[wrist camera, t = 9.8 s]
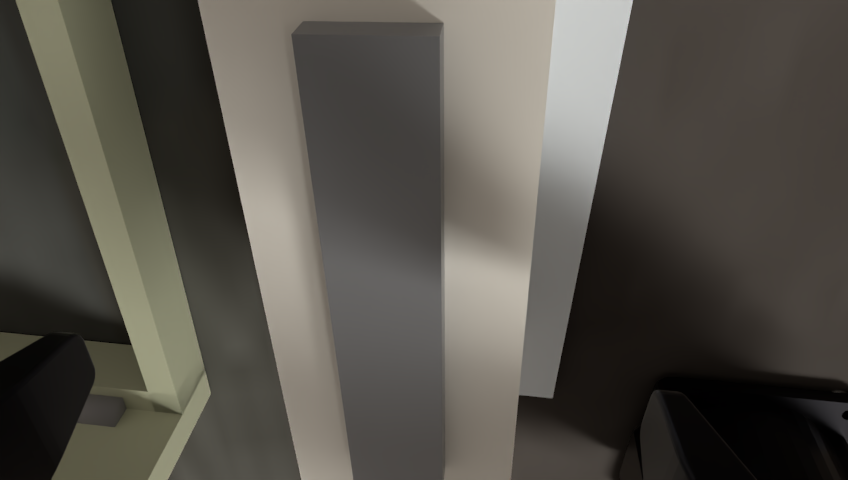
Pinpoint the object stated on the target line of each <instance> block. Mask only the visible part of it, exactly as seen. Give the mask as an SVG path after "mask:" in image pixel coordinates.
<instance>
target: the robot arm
mask: <svg viewBox="0 0 848 480" xmlns="http://www.w3.org/2000/svg"><path fill="white" fill-rule="evenodd" d="M94 381H95V367H94V364H93V362H92V359H91V357H90V354H89V352H88V349H87V347H86V344H85V341H84V339H83V338H82V337H81V336H80V335H79V334H77V333H69V332H58V331H57V332H52V333H49V334H47V335H45V336H44V337H42V338H40V339H38V340H37V341H35V342H33V343H31V344H30V345H28V346H26V347H24V348H23V349H21V350H19V351H17V352H16V353H14V354H12V355H10V356H9V357H7V358H5V359H3V360H2V361H0V480H51V479H52V477H53V475H54V473H55V472H56V470H57V468H58V465H59V463H60V461H61V459H62V457H63V455H64V452H65V450H66V448H67V445H68V443H69V441H70V438H71V436H72V434H73V431H74V429H75V426H76V424H77V422H78V419H79V417H80V415H81V412H82V410H83V408H84V405H85V403H86V401H87V398H88V396H89V394H90V391H91V389H92V387H93V384H94ZM619 475H620V480H848V394H843V393H833V392H822V391H812V390H802V389H792V388H781V387H771V386H761V385H750V384H740V383H730V382H719V381H709V380H699V379H689V378H678V377H667V378H664V379H661V380H660V381H658V382H657V383H656V385H655V387H654V390H653V393H652V395H651V397H650V400H649V403H648V406H647V409H646V412H645V415H644V418H643V421H642V424H641V426H638V427H637V428H636V429H634V430H633V432H632V435H631V438H630V441H629V444H628V447H627V450H626V453H625V456H624V460H623V463H622V466H621V469H620V472H619Z"/></svg>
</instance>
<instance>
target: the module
mask: <svg viewBox="0 0 848 480" xmlns="http://www.w3.org/2000/svg"><path fill="white" fill-rule="evenodd" d="M198 4H199V9H200V14H201V18H202V23H203V27H204V32H205V37H206V41H207V46H208V50H209V55H210V60H211V64H212V69H213V74H214V78H215V83H216V87H217V92H218V97H219V101H220V106H221V110H222V115H223V120H224V124H225V129H226V134H227V138H228V143H229V147H230V152H231V157H232V161H233V166H234V170H235V175H236V180H237V184H238V189H239V194H240V198H241V203H242V207H243V212H244V217H245V221H246V226H247V231H248V235H249V240H250V244H251V249H252V254H253V258H254V263H255V267H256V272H257V277H258V281H259V286H260V291H261V295H262V300H263V304H264V309H265V314H266V318H267V323H268V327H269V332H270V337H271V341H272V346H273V351H274V355H275V360H276V364H277V369H278V374H279V378H280V383H281V387H282V392H283V397H284V401H285V406H286V411H287V415H288V420H289V424H290V429H291V434H292V438H293V443H294V448H295V452H296V457H297V461H298V466H299V471H300V475H301V480H511V472H512V462H513V451H514V441H515V430H516V419H517V409H518V398H519V388H520V377H521V366H522V356H523V345H524V334H525V324H526V313H527V303H528V292H529V281H530V271H531V260H532V249H533V239H534V228H535V218H536V207H537V196H538V186H539V175H540V165H541V154H542V143H543V133H544V122H545V111H546V101H547V90H548V80H549V69H550V58H551V48H552V37H553V27H554V16H555V5H556V0H198Z"/></svg>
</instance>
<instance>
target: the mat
mask: <svg viewBox="0 0 848 480" xmlns="http://www.w3.org/2000/svg"><path fill="white" fill-rule="evenodd" d="M632 2H633V0H556V5H555V16H554V27H553V37H552V48H551V58H550V69H549V80H548V90H547V101H546V111H545V122H544V133H543V143H542V154H541V165H540V175H539V186H538V196H537V207H536V218H535V228H534V239H533V249H532V260H531V271H530V281H529V292H528V303H527V313H526V324H525V334H524V345H523V356H522V366H521V377H520V388H519V395H524V396H534V397H544V398H553V394H554V389H555V384H556V379H557V374H558V369H559V364H560V359H561V354H562V349H563V344H564V339H565V334H566V329H567V324H568V320H569V315H570V310H571V305H572V300H573V295H574V290H575V285H576V280H577V275H578V270H579V265H580V260H581V255H582V250H583V245H584V240H585V235H586V230H587V225H588V220H589V215H590V211H591V206H592V201H593V196H594V191H595V186H596V181H597V176H598V171H599V166H600V161H601V156H602V151H603V146H604V141H605V136H606V131H607V126H608V121H609V116H610V111H611V106H612V102H613V97H614V92H615V87H616V82H617V77H618V72H619V67H620V62H621V57H622V52H623V47H624V42H625V37H626V32H627V27H628V22H629V17H630V12H631V7H632Z"/></svg>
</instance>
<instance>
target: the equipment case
mask: <svg viewBox="0 0 848 480" xmlns="http://www.w3.org/2000/svg"><path fill="white" fill-rule="evenodd" d="M16 3H17V6H18V9H19V12H20V15H21V18H22V21H23V24H24V27H25V30H26V33H27V36H28V39H29V42H30V45H31V48H32V50H33V53H34V56H35V59H36V62H37V65H38V68H39V71H40V74H41V77H42V80H43V83H44V86H45V89H46V92H47V95H48V98H49V101H50V104H51V107H52V110H53V113H54V116H55V119H56V122H57V124H58V127H59V130H60V133H61V136H62V139H63V142H64V145H65V148H66V151H67V154H68V157H69V160H70V163H71V166H72V169H73V172H74V175H75V178H76V181H77V184H78V187H79V190H80V193H81V196H82V198H83V201H84V204H85V207H86V210H87V213H88V216H89V219H90V222H91V225H92V228H93V231H94V234H95V237H96V240H97V243H98V246H99V249H100V252H101V255H102V258H103V261H104V264H105V267H106V270H107V272H108V275H109V278H110V281H111V284H112V287H113V290H114V293H115V296H116V299H117V302H118V305H119V308H120V311H121V314H122V317H123V320H124V323H125V326H126V329H127V332H128V335H129V338H130V341H131V343H132V345H125V344H115V343H105V342H95V341H85V340H84V341H85V344H86V347H87V349H88V352H89V354H90V357H91V359H92V362H93V364H94V367H95V381H94V384H93V387H92V389H91V391H90V394H89V396H88V398H87V401H86V403H85V405H84V408H83V410H82V412H81V415H80V417H79V419H78V422H77V424H76V426H75V429H74V431H73V434H72V436H71V438H70V441H69V443H68V445H67V448H66V450H65V452H64V455H63V457H62V459H61V461H60V463H59V465H58V468H57V470H56V472H55V473H54V475H53V477H52V479H51V480H168V478H169V476H170V474H171V472H172V470H173V468H174V466H175V464H176V462H177V460H178V458H179V456H180V454H181V452H182V450H183V448H184V446H185V444H186V442H187V440H188V438H189V436H190V434H191V432H192V430H193V428H194V426H195V424H196V422H197V420H198V418H199V416H200V414H201V412H202V410H203V408H204V406H205V404H206V402H207V400H208V398H209V396H210V394H211V392H210V388H209V384H208V380H207V376H206V372H205V368H204V364H203V360H202V356H201V352H200V349H199V345H198V341H197V337H196V333H195V329H194V325H193V321H192V317H191V313H190V309H189V305H188V301H187V297H186V294H185V290H184V286H183V282H182V278H181V274H180V270H179V266H178V262H177V258H176V254H175V250H174V246H173V242H172V239H171V235H170V231H169V227H168V223H167V219H166V215H165V211H164V207H163V203H162V199H161V195H160V191H159V187H158V184H157V180H156V176H155V172H154V168H153V164H152V160H151V156H150V152H149V148H148V144H147V140H146V136H145V132H144V129H143V125H142V121H141V117H140V113H139V109H138V105H137V101H136V97H135V93H134V89H133V85H132V81H131V77H130V74H129V70H128V66H127V62H126V58H125V54H124V50H123V46H122V42H121V38H120V34H119V30H118V26H117V22H116V19H115V15H114V11H113V7H112V3H111V0H16ZM42 337H44V336H35V335H25V334H15V333H5V332H0V361H2V360H3V359H5V358H7V357H9V356H10V355H12V354H14V353H16V352H17V351H19V350H21V349H23V348H24V347H26V346H28V345H30V344H31V343H33V342H35V341H37V340H38V339H40V338H42Z"/></svg>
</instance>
